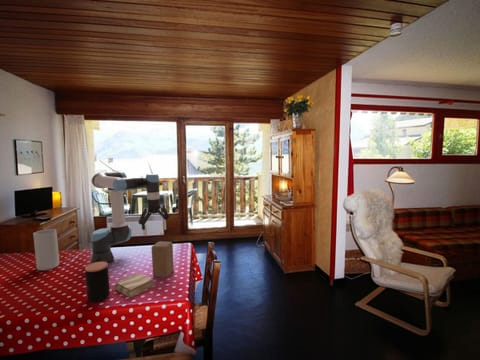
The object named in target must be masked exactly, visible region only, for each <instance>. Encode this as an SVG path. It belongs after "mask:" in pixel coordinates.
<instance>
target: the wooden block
mask: <svg viewBox="0 0 480 360" xmlns="http://www.w3.org/2000/svg"><path fill="white" fill-rule="evenodd" d="M173 248H174V246H173V242H172V241H161V240H160V241H158V242H156V243H155V244H153V245H151V263H152V264H151V265H152V276H153V277H156V278H166V279H167V278H168V277H169V276H170V275H171V274H172V273H173V272H174V267H175V265H174V251H173V250H174V249H173Z"/></svg>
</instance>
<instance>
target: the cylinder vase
mask: <svg viewBox="0 0 480 360" xmlns="http://www.w3.org/2000/svg"><path fill="white" fill-rule="evenodd" d="M32 234H33V235H32V237H33V244H34V252H35V253H34V254H35V261H36V262H35V264H36V270H38V271H41V270H42V271H49V270H52V269H54V268H55V269H56V268H57V267H59V266H60V255H59V246H58V235H57V229H56V228H48V229H47V228H46V229H42V230H38V231H36V232H33V233H32Z"/></svg>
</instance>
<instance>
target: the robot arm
mask: <svg viewBox="0 0 480 360" xmlns="http://www.w3.org/2000/svg"><path fill="white" fill-rule="evenodd" d="M159 177H160V176H159V174H158V173H146V175H145V176H144V175H139V176H134V177H128V176H127V175H126V173H125V172H124V171H122V170H114V171H113V170H112V171H101V172H97V173H95V174H94V175H93V176H92V178H91V184H92V185H93V187H95V188H96V189H107V191H108V192H109V194H110V195H109V196H110V205H111V219H112V224H111V225H110V229H109V228H107V227H105V228H104V227H103V228H99V229H96V230H95V231H93V232H92V233H91V235H90V242H91V257H90V260H89V264H92V263H95V262H107V263H108V265H110V264H112V263H113V262H114V261H115V256H114V254H113V252H112V250H111V249H112V247H111V246H114V245H117V244H122V243H125V242H127V241H129V240H130V239H131V237H132V234H133V233H132V228H131V227H130V225H128V223H127V222H126V215H125V204H124V203H125V202H124V191H125V192H126V191H130V190H132V191H133V190H139V189H140V190H141V189H146V199H147V201H146V203H147V204H146V205H147V207H142V212H141V215H140V217H139V220H138V224H139V225H141V230H142V231H143V233H142V234H143V235H145V236H147V235H148V231H147V230H148V229H147V222H148V220H149V218H150V217H151V215H154V214H158V215H160V217H162V230H165V231H166V230H167V224H168V221H167V220H169V218H170V215H169V213H168V211H167V210H166V207H165V204H163V203H162V204H161V199H160V198H161V197H160V194H161V193H160V178H159Z"/></svg>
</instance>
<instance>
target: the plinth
mask: <svg viewBox="0 0 480 360" xmlns="http://www.w3.org/2000/svg"><path fill="white" fill-rule="evenodd" d="M153 287H155V280H154V279H152V278H151V277H149V276H146V275H144V274H142V273H139V272H138V273H135V274H133V275H131V276H129V277H127V278H124V279H122V280H120V281H117V282H116V283H115V290H116V291H118V292H120V293H121V294H122V295H125V296H127V297H128V298H133V297H134V296H136V295H137V296H138V295H139V294H140V293H143V292H144V291H147V290H149V289H150V288H153Z"/></svg>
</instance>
